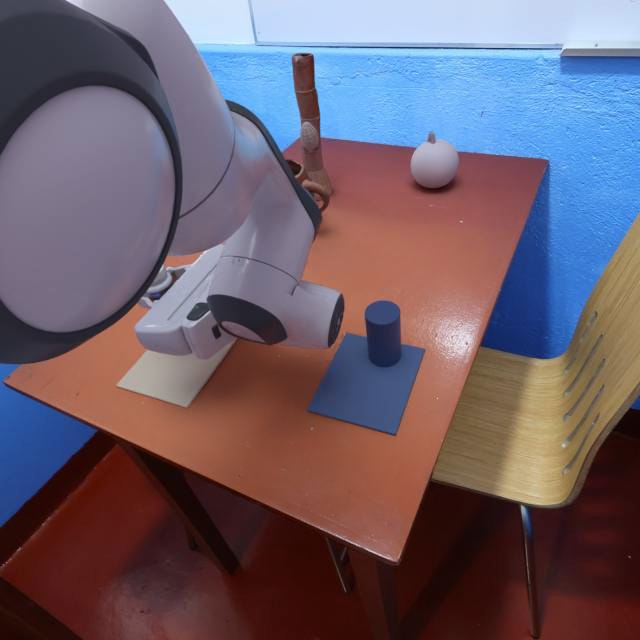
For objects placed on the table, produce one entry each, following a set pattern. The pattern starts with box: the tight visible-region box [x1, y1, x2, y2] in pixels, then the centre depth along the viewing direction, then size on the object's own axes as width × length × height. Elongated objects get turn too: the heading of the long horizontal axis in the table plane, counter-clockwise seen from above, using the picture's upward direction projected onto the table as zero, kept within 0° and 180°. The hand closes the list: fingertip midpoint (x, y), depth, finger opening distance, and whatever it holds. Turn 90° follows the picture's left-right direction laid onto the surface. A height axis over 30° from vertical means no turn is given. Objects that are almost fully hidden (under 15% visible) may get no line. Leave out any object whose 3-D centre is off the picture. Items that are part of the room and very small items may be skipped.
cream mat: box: [115, 338, 239, 409], centre depth 79 cm, size 20×14×1 cm
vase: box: [291, 52, 333, 202], centre depth 104 cm, size 11×7×30 cm
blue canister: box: [364, 299, 402, 367], centre depth 69 cm, size 5×5×9 cm
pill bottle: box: [146, 264, 175, 300], centre depth 70 cm, size 5×5×8 cm
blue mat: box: [306, 332, 426, 437], centre depth 69 cm, size 16×13×1 cm
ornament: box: [410, 132, 460, 189], centre depth 105 cm, size 10×10×12 cm
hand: (153, 286), depth 70 cm, fingers closed on pill bottle, 5 cm apart
